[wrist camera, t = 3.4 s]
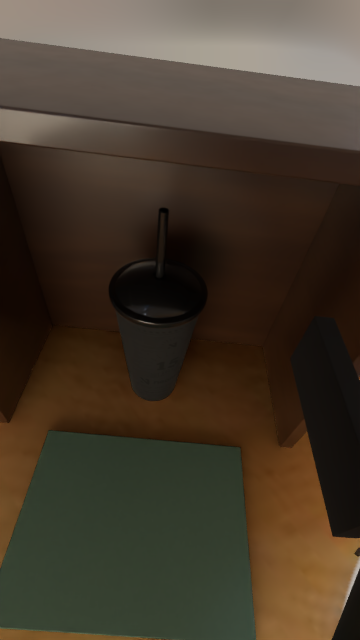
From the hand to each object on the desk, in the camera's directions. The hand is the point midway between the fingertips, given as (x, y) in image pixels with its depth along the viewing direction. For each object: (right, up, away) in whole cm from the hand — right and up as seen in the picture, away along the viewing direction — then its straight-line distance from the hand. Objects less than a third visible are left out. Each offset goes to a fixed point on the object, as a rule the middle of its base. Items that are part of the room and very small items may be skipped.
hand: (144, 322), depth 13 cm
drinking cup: (-2, -7, +22) cm, 23 cm away
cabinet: (-1, -7, +21) cm, 22 cm away
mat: (-2, -16, +13) cm, 20 cm away
